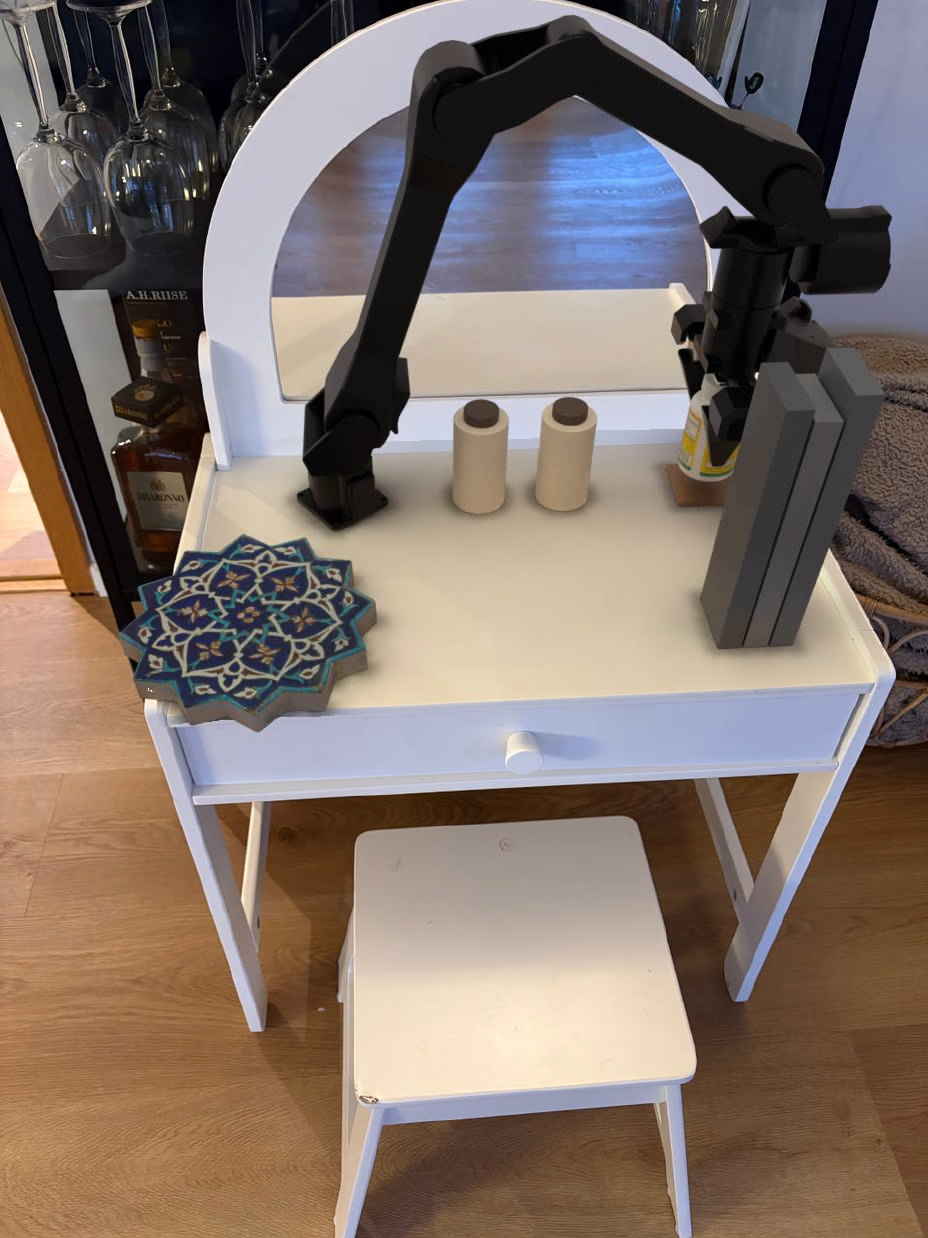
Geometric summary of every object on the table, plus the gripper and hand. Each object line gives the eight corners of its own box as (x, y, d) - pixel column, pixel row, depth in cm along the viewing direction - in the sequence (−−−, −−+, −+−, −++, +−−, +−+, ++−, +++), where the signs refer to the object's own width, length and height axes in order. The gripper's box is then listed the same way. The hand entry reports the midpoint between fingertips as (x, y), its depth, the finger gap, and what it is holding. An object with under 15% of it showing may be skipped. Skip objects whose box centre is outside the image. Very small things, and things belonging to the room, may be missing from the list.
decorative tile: (103, 596, 84) (96, 576, 82) (322, 529, 90) (319, 509, 88) (165, 769, 71) (158, 750, 70) (413, 677, 78) (412, 657, 76)
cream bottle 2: (524, 493, 95) (531, 404, 88) (561, 472, 97) (570, 384, 90) (560, 518, 92) (570, 428, 85) (597, 497, 95) (610, 408, 88)
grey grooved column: (793, 645, 81) (886, 394, 64) (717, 648, 81) (790, 397, 64) (771, 595, 85) (854, 347, 68) (699, 598, 85) (764, 349, 68)
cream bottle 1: (441, 495, 94) (441, 406, 87) (480, 475, 97) (483, 387, 90) (476, 521, 92) (479, 431, 85) (515, 499, 94) (521, 410, 87)
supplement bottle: (667, 470, 94) (685, 381, 87) (692, 444, 97) (711, 357, 90) (718, 490, 92) (741, 401, 85) (742, 464, 95) (766, 376, 88)
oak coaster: (678, 506, 94) (679, 502, 93) (665, 469, 98) (666, 464, 98) (740, 504, 94) (741, 499, 94) (724, 467, 98) (725, 462, 98)
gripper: (882, 349, 76) (825, 507, 87) (805, 242, 89) (764, 392, 100) (741, 351, 75) (701, 511, 86) (684, 243, 88) (656, 394, 99)
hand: (709, 447), depth 93 cm, fingers closed on supplement bottle, 5 cm apart
